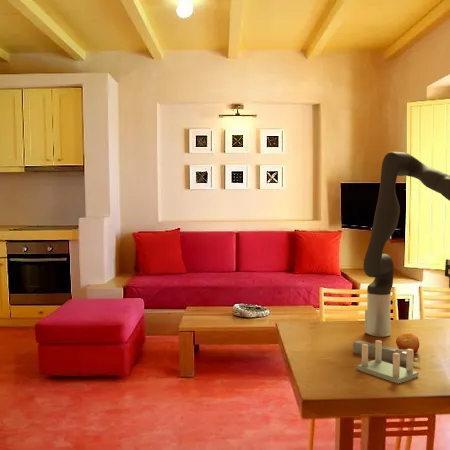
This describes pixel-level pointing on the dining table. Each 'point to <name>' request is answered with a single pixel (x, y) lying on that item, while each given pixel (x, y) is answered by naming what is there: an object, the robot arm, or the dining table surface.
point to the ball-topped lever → (383, 352)
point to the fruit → (408, 342)
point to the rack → (387, 365)
